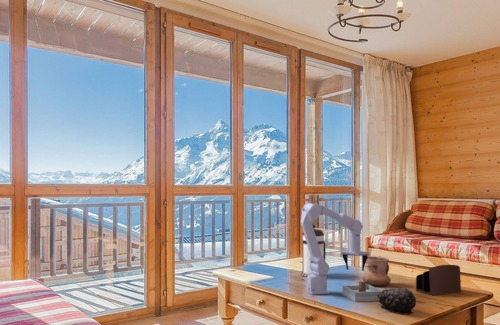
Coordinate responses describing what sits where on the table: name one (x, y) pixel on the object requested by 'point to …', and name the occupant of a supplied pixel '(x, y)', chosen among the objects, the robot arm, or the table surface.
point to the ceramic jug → (377, 271)
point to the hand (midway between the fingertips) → (355, 270)
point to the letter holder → (439, 280)
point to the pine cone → (397, 300)
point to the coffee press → (306, 252)
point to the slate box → (361, 293)
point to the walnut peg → (362, 286)
